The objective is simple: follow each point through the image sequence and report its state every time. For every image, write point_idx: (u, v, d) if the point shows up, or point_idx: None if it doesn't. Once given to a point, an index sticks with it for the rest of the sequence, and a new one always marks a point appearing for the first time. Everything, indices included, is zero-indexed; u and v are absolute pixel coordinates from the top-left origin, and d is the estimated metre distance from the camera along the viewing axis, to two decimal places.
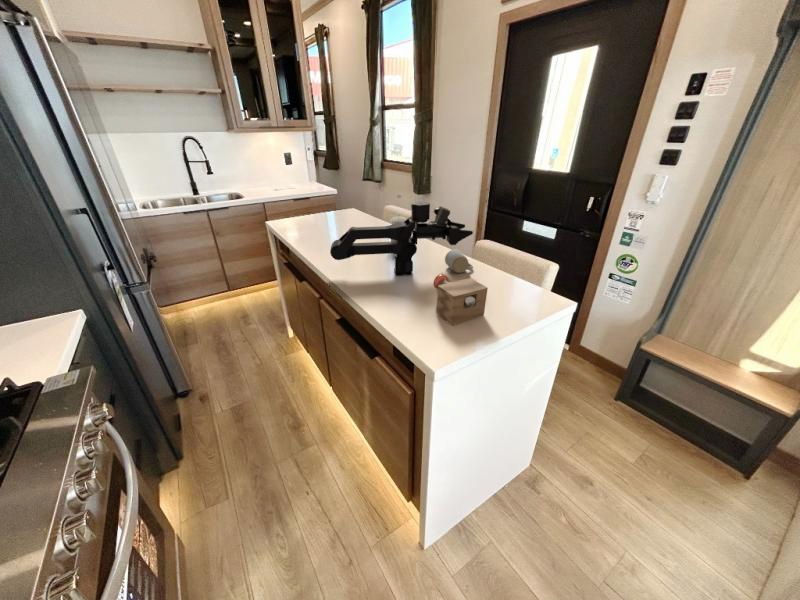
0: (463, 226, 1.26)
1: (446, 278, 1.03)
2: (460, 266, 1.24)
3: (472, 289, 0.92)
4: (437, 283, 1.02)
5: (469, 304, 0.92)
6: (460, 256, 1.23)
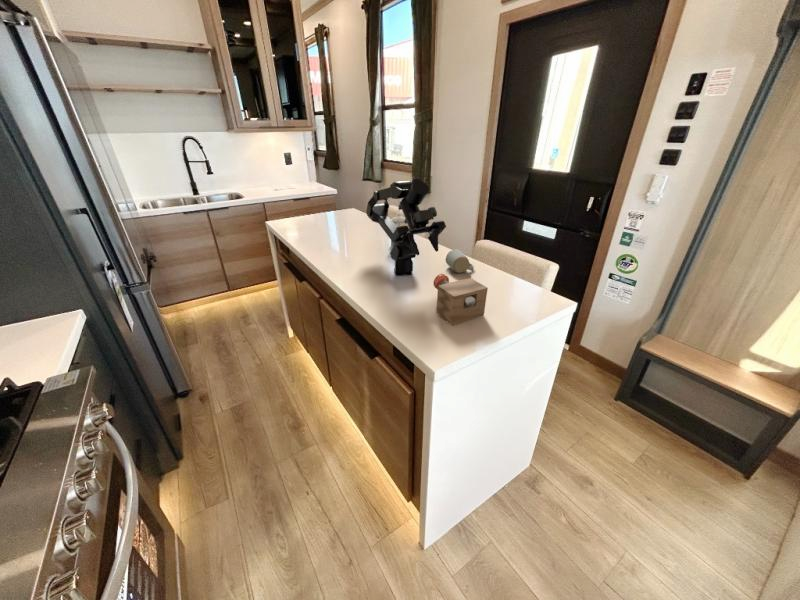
0: (436, 249, 1.09)
1: (446, 278, 1.03)
2: (461, 266, 1.24)
3: (472, 289, 0.92)
4: (437, 283, 1.02)
5: (469, 304, 0.92)
6: (461, 256, 1.23)
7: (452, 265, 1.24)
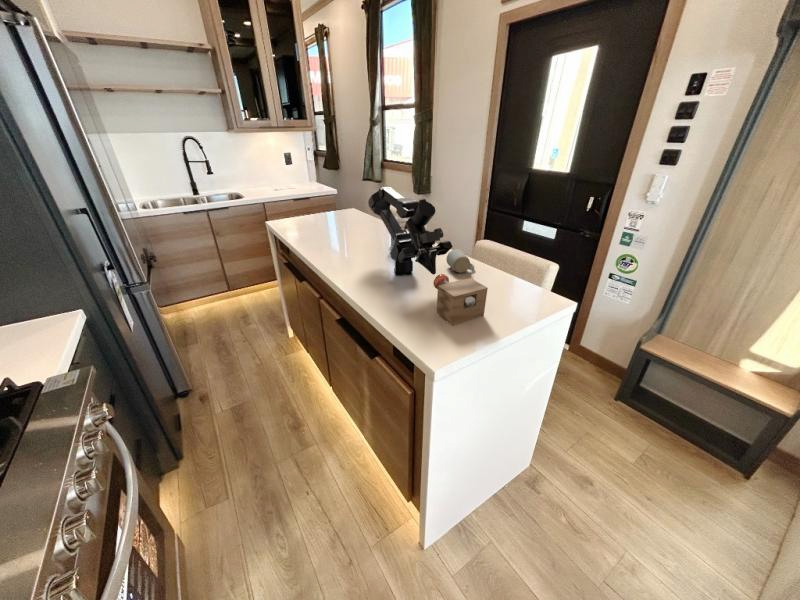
0: None
1: (446, 278, 1.03)
2: (461, 266, 1.25)
3: (472, 289, 0.92)
4: (437, 283, 1.02)
5: (469, 304, 0.92)
6: (462, 256, 1.23)
7: (453, 265, 1.25)
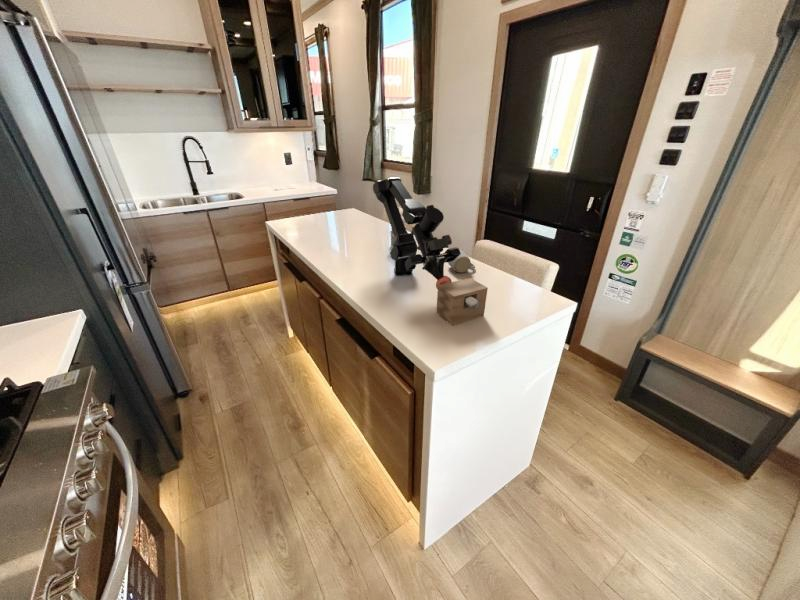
0: None
1: (449, 280, 1.02)
2: (462, 266, 1.25)
3: (472, 289, 0.92)
4: None
5: (472, 306, 0.90)
6: (462, 256, 1.23)
7: (453, 265, 1.25)
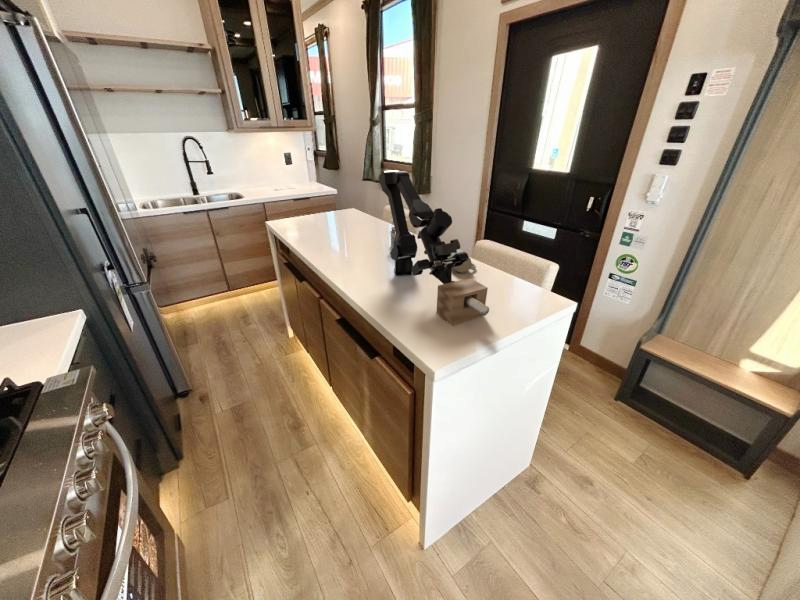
0: None
1: None
2: (463, 266, 1.25)
3: (472, 289, 0.92)
4: None
5: (483, 313, 0.87)
6: None
7: None
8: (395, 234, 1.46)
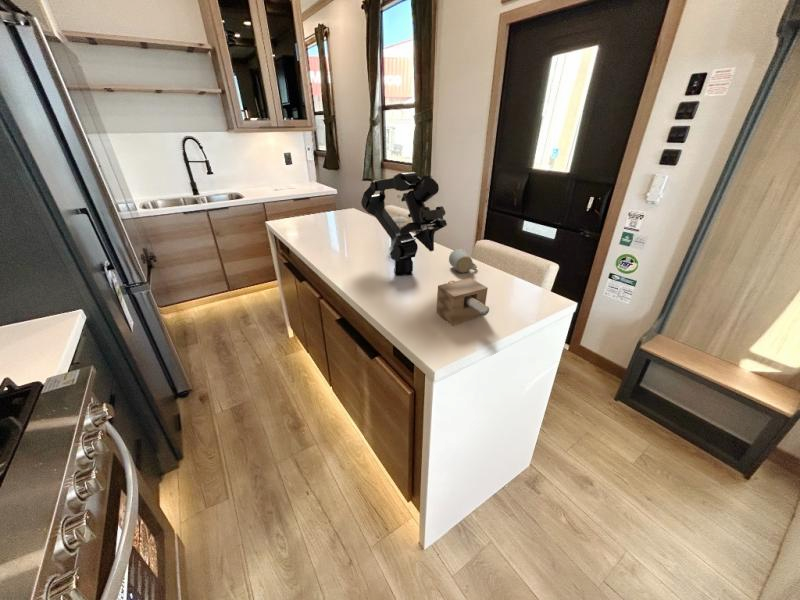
0: None
1: None
2: (464, 266, 1.25)
3: (472, 289, 0.92)
4: None
5: (483, 313, 0.87)
6: (464, 256, 1.24)
7: (455, 265, 1.25)
8: None
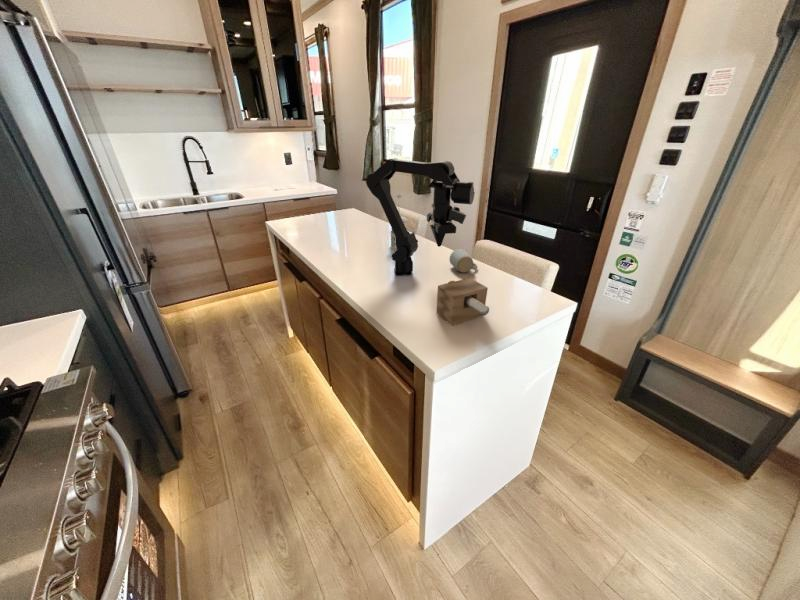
0: None
1: None
2: (465, 266, 1.25)
3: (472, 289, 0.92)
4: None
5: (483, 313, 0.87)
6: (465, 256, 1.24)
7: (456, 265, 1.25)
8: None
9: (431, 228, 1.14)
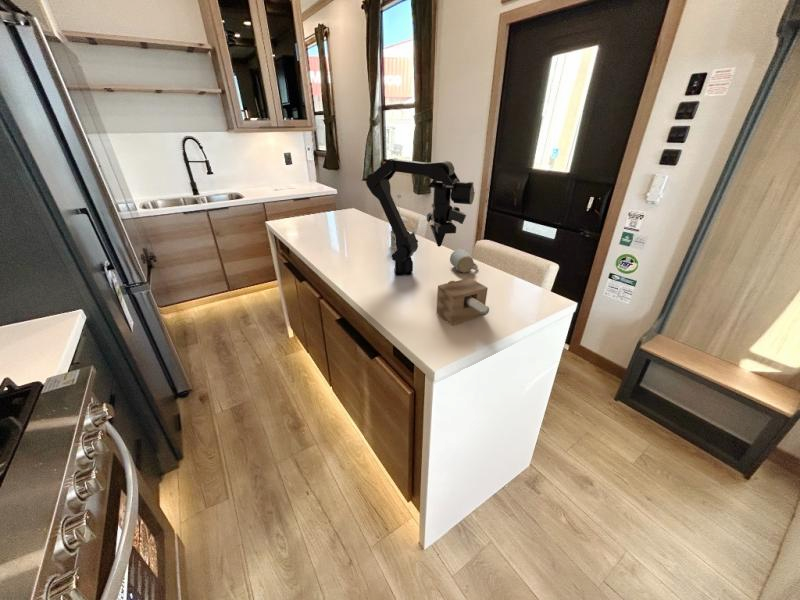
0: None
1: None
2: (465, 266, 1.25)
3: (472, 289, 0.92)
4: None
5: (483, 313, 0.87)
6: (465, 256, 1.24)
7: (456, 265, 1.25)
8: None
9: (431, 228, 1.14)
